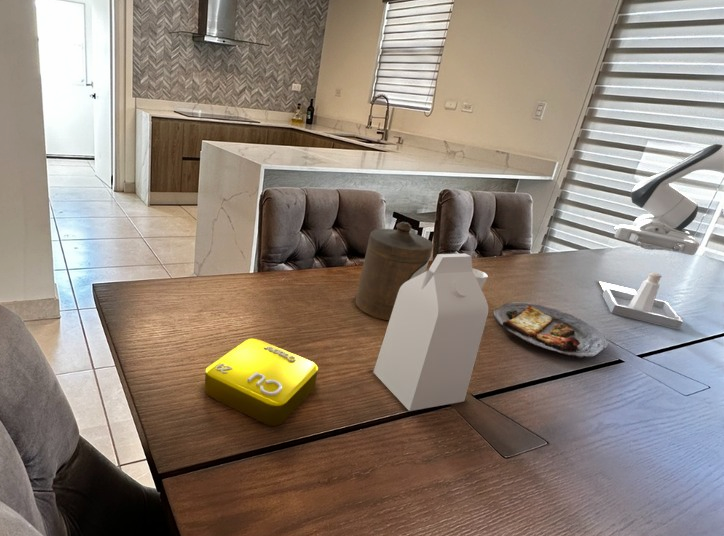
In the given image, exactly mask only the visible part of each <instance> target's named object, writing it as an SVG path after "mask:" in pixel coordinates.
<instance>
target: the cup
mask: <svg viewBox="0 0 724 536" xmlns="http://www.w3.org/2000/svg"><path fill="white" fill-rule="evenodd" d="M472 272H473V273H474V275H475V277H476V279H477V281H478V283H479V286H480V288H481V290H482V291H483V288H484V286H485V284H486V282H487V280H488V278H489V276H488V274H487V273H486V272H485V271H482V270H480V269H477V268H473V271H472Z"/></svg>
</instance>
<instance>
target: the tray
mask: <svg viewBox="0 0 724 536" xmlns="http://www.w3.org/2000/svg"><path fill="white" fill-rule="evenodd" d="M634 296H635V294H632V293H627V292H623V291H619V290H615V289H610V288H605V291H604V292H603V293H602V298H603V299H604V301H605V303H606V305H607V307H608V309H609V311H610V313H611V314H613V315H617V316H621V317H626V318H629V319H634V320H637V321H640V322H644V323H645V322H646V323H648V324H653V325H657V326H661V327H666V328H670V329H673V330H676V331H677V330H678V331H679V330H680V329H681V327H682V324H683V323H684V321H683V320H682V319H681V317H680V315H679V314H678V313H677V312H676V311H675V309H674V308H673V307H672V306H671V305H670V303H669V302H668V301H665V300H661V299H656V298H655V300H654V303H653V306H652V309H651V312H646V311H642V310H638V309H634V308H629V307H628V305H629V304H630V302H631V300H632V299H633V297H634Z"/></svg>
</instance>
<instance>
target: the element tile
mask: <svg viewBox="0 0 724 536" xmlns="http://www.w3.org/2000/svg"><path fill="white" fill-rule="evenodd" d="M318 370H319V366H318V365H317V364H316V363H315V362H314V361H311V360H310V359H307V358H305V357H302V356H300V355H297V354H295V353H292V352H290V351H287V350H285V349H283V348H280V347H278V346H276V345H273V344H270V343H269V342H266V341H263V340H261V339H258V338H253V337H251V338H247V339H245V340H244V341H242V342H241V343H239V344H238V345H236V346H235V347H234V348H232V349H230V351H227V353H225V354H224V355H222V356H221V357H220V358H217V360H215V361H214V362H212V363H211V364H209V365H208V366H207V367H206V369H205V374H204V392H205V395H207V396H208V397H210V398H212V399H214V400H216V401H218V402H220V403H222V404H223V405H226V406H228V407H230V408H232V409H234V410H236V411H238V412H240V413H242V414H244V415H246V416H248V417H250V418H252V419H253V420H256V421H258V422H260V423H262V424H264V425H266V426H270V427H276V426H277V427H278V426H280V425H282V424H283V423H284V422H285V421H286V420H287V419H288V418H289V417H290V416H291V415H292V413H293V412H294V411H295V410H296V409H297V408H298V407H299V406H300V405H301V403H303V402H304V401H305V400H306V398H307V397H308V396H309V395H310V394H311V393H312V392H313V391H314V389H315V388H316V382H317V377H318V372H319V371H318Z"/></svg>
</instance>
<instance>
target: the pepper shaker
mask: <svg viewBox="0 0 724 536" xmlns="http://www.w3.org/2000/svg"><path fill="white" fill-rule="evenodd" d="M661 278H662V274H659V273H657V272H649V273H648V276H647V279H644V280H643V281H642V282H641V285H640V286H639V288H638V289H637V291H636V294H635V296H634V297H633V299H632V300H631V302H630V304H629V305H628V307H629V308H634V309H638V310H642V311H646V312H651V309H652V306H653V303H654V300H655V299H656V297H657V294H658V291H659V289H660V285H661V284H660V283H659V281H661Z"/></svg>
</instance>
